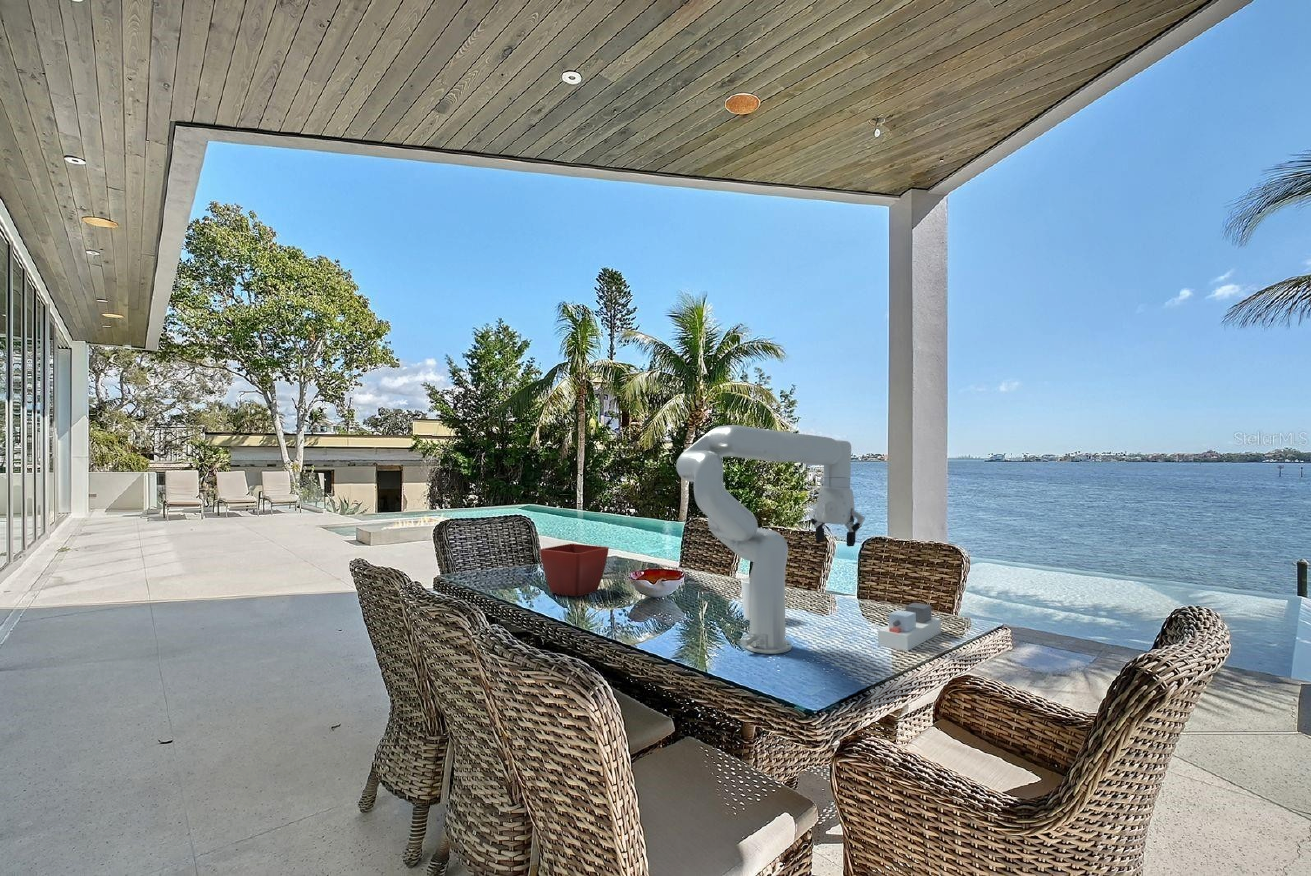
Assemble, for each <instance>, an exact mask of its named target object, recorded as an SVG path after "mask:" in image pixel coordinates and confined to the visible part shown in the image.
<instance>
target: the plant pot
mask: <svg viewBox="0 0 1311 876" xmlns="http://www.w3.org/2000/svg"><path fill="white" fill-rule="evenodd" d="M539 553H540V557H541V563H542V567H543V573H544V575H545V580H546V582H547V584H548V587H549V590H550V593H551V592H552V593H551V594H554V593H556V595H560V594H561V596H566V595H569V596H568V597H573V596H574V598H576V597H577V598H579V597H582V596H585V595H588V594H589V595H590V594H592V593H596V592H597V591H598V589H599V586H600V584H601V581H602V578H603V575H604V572H605V570H606V569H605V568H606V566H607V565H606V564H607V561H608V560H607V559H608V554H609V547H607V546H600V545H599V546H598V545H590V544H579V543H568V544H567V543H565V544H562V545H556V546H551V547H545V548H540V550H539ZM578 596H579V597H578Z"/></svg>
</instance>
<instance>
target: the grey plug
mask: <svg viewBox="0 0 1311 876" xmlns="http://www.w3.org/2000/svg"><path fill="white" fill-rule="evenodd" d="M888 626H889V629H890V628H892V627H894V628H900V629H901V631H904V632H908V631H910V630H912V629H914V628H916V613H914V612H908V611H906V610H901V609H897V610H894V611H892V612H890V613H888Z"/></svg>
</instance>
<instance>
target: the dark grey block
mask: <svg viewBox="0 0 1311 876" xmlns="http://www.w3.org/2000/svg"><path fill="white" fill-rule="evenodd" d="M905 611H908V612H914V613H916V622H919V623H925V622H927V621H929V620H931V619H932V616H933V615H932V604H926V603H919V602H912V603H909V604H908V605H905Z"/></svg>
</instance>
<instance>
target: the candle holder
mask: <svg viewBox="0 0 1311 876" xmlns="http://www.w3.org/2000/svg"><path fill="white" fill-rule="evenodd" d="M749 579H750V577H744V578H741V580H740V582H741V595H742V596H741V597H742V614H743V619H744V620H746V621H749V622H750V596H749Z"/></svg>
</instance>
